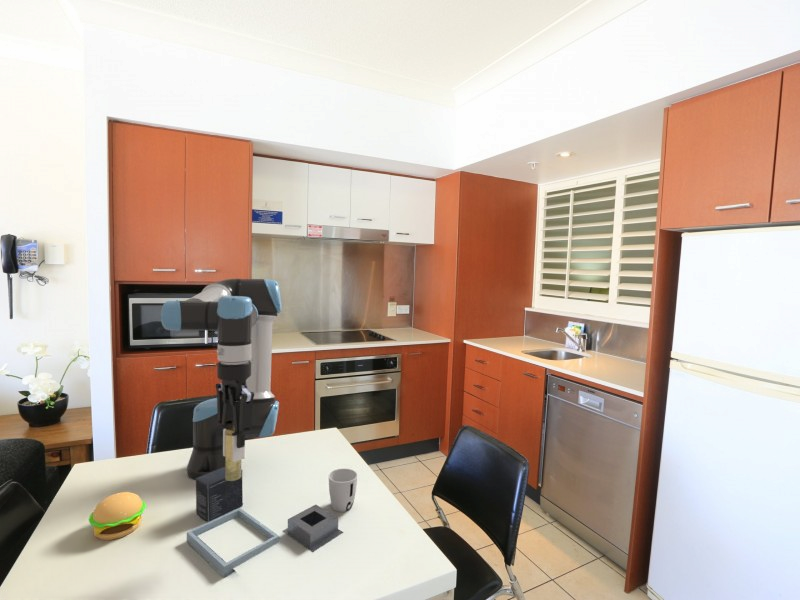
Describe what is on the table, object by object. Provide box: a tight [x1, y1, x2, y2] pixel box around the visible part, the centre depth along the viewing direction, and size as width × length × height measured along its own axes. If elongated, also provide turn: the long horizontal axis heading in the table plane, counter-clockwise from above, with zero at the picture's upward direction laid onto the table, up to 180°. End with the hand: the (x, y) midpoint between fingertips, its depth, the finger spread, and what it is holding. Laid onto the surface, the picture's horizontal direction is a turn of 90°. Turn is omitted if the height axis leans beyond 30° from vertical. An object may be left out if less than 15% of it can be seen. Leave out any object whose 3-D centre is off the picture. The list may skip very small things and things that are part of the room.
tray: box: [186, 507, 280, 578], centre depth 100 cm, size 18×14×2 cm
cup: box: [328, 468, 358, 513], centre depth 116 cm, size 8×8×10 cm
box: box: [195, 467, 244, 523], centre depth 114 cm, size 11×7×10 cm, turn 145°
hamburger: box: [88, 491, 147, 541], centre depth 104 cm, size 12×12×9 cm
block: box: [282, 503, 344, 553], centre depth 104 cm, size 12×10×4 cm
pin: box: [225, 426, 242, 481], centre depth 99 cm, size 4×4×12 cm
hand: (233, 456), depth 99 cm, fingers closed on pin, 4 cm apart
